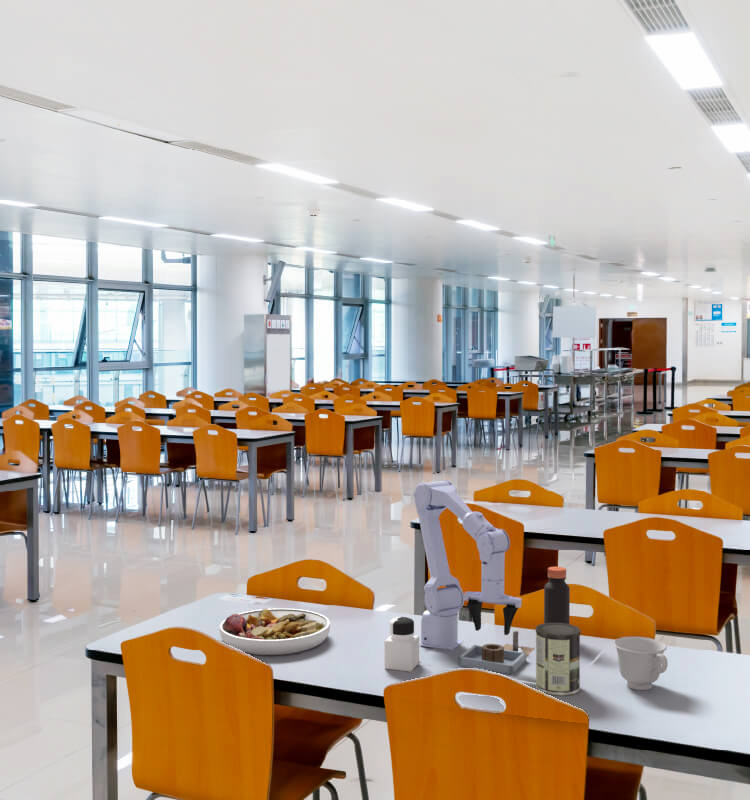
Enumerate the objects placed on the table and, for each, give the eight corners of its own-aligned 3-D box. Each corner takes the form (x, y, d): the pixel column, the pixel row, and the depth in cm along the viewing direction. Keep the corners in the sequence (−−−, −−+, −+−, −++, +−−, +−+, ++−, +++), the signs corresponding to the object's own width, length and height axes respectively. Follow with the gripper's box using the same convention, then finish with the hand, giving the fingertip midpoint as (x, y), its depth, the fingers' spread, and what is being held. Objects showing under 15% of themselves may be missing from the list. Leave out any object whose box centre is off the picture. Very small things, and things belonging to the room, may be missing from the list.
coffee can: (566, 678, 220) (566, 620, 220) (588, 693, 211) (588, 633, 210) (527, 682, 217) (528, 624, 217) (547, 698, 208) (548, 637, 207)
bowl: (314, 621, 269) (314, 594, 269) (343, 652, 241) (343, 623, 240) (212, 631, 260) (212, 603, 259) (229, 664, 231) (229, 634, 231)
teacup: (644, 703, 204) (644, 659, 204) (602, 681, 218) (602, 640, 218) (686, 694, 209) (686, 651, 209) (642, 674, 223) (643, 633, 222)
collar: (479, 664, 229) (479, 648, 229) (486, 658, 233) (486, 642, 233) (499, 667, 226) (499, 651, 226) (506, 661, 231) (506, 645, 231)
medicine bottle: (419, 663, 231) (419, 616, 231) (411, 672, 225) (411, 624, 224) (392, 660, 234) (392, 613, 233) (384, 669, 227) (384, 621, 226)
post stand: (495, 654, 238) (495, 633, 238) (505, 645, 245) (506, 625, 245) (525, 659, 234) (525, 637, 234) (534, 650, 241) (535, 629, 241)
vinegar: (574, 643, 247) (574, 570, 246) (552, 646, 244) (553, 572, 243) (560, 636, 253) (560, 564, 252) (539, 639, 251) (539, 567, 250)
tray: (458, 667, 228) (458, 657, 228) (474, 654, 238) (474, 644, 238) (511, 676, 222) (512, 666, 222) (526, 662, 231) (526, 652, 231)
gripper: (525, 578, 229) (525, 631, 230) (471, 571, 236) (471, 623, 236) (516, 584, 223) (516, 639, 223) (461, 577, 229) (461, 630, 230)
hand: (492, 631), depth 229 cm, fingers open, 7 cm apart
